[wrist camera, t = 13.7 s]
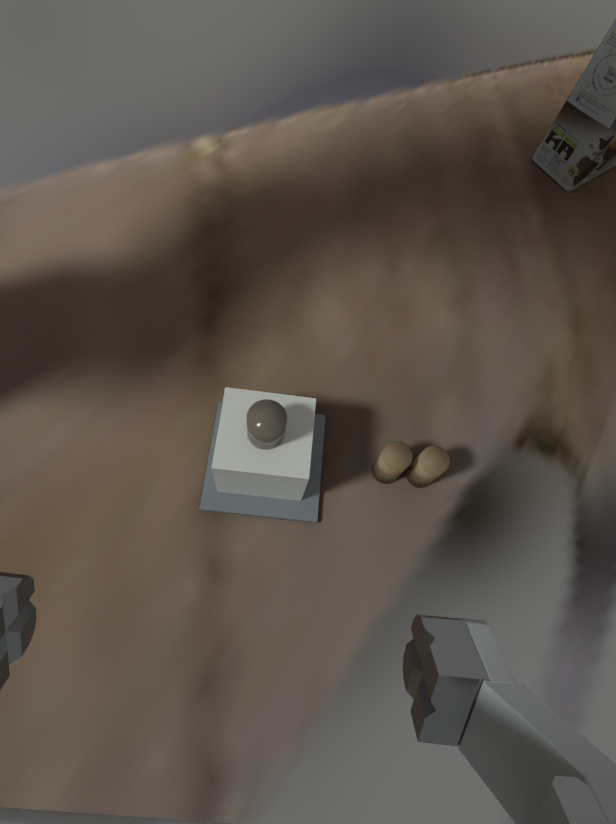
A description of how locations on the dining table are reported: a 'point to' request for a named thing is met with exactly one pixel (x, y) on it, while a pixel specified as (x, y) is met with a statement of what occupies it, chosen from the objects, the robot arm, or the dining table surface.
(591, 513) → the dining table surface
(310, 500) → the felt mat
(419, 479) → the cork
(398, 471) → the cork
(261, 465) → the perfume bottle
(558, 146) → the coffee box
